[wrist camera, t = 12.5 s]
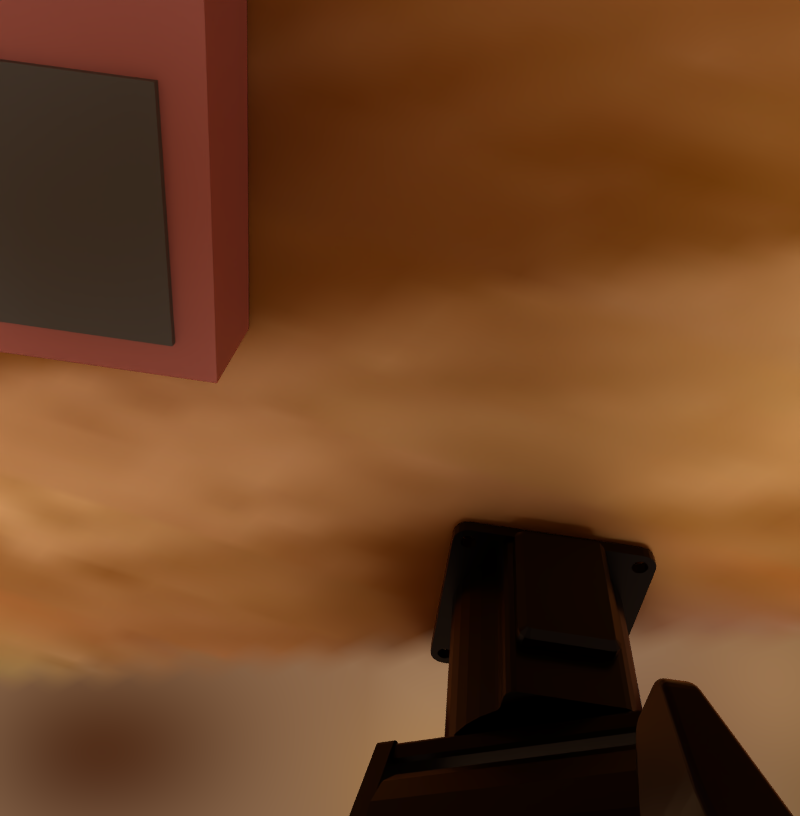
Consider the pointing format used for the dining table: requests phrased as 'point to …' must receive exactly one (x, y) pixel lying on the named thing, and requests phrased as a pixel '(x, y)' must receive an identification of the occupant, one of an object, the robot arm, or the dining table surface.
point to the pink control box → (124, 183)
